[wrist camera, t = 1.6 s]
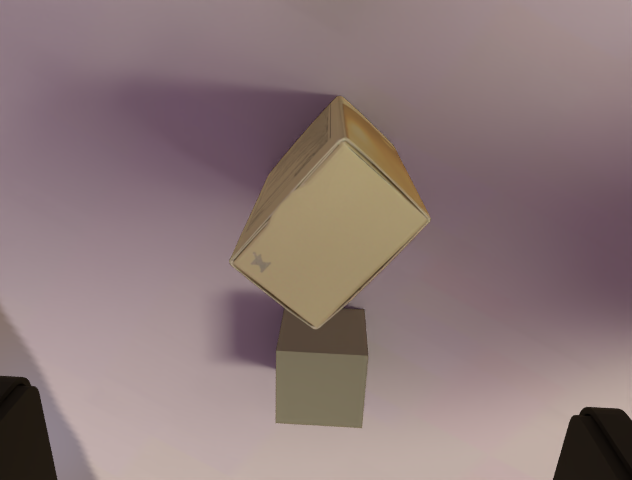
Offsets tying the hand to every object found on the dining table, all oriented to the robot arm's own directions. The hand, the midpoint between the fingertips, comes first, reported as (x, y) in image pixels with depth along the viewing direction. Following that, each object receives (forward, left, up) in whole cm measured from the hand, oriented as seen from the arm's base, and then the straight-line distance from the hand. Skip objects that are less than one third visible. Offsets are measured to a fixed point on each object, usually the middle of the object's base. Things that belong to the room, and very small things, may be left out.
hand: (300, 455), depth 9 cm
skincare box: (0, 0, -22) cm, 22 cm away
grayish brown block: (0, +12, -22) cm, 25 cm away
